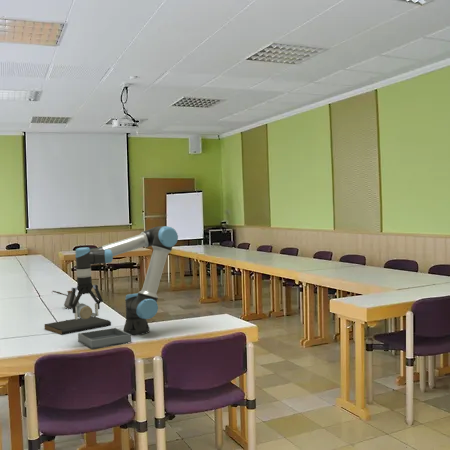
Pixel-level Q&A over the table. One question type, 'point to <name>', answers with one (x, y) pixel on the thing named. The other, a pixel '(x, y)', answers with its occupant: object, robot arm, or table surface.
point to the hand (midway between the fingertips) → (86, 317)
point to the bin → (104, 338)
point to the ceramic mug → (84, 311)
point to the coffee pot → (67, 299)
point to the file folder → (76, 325)
